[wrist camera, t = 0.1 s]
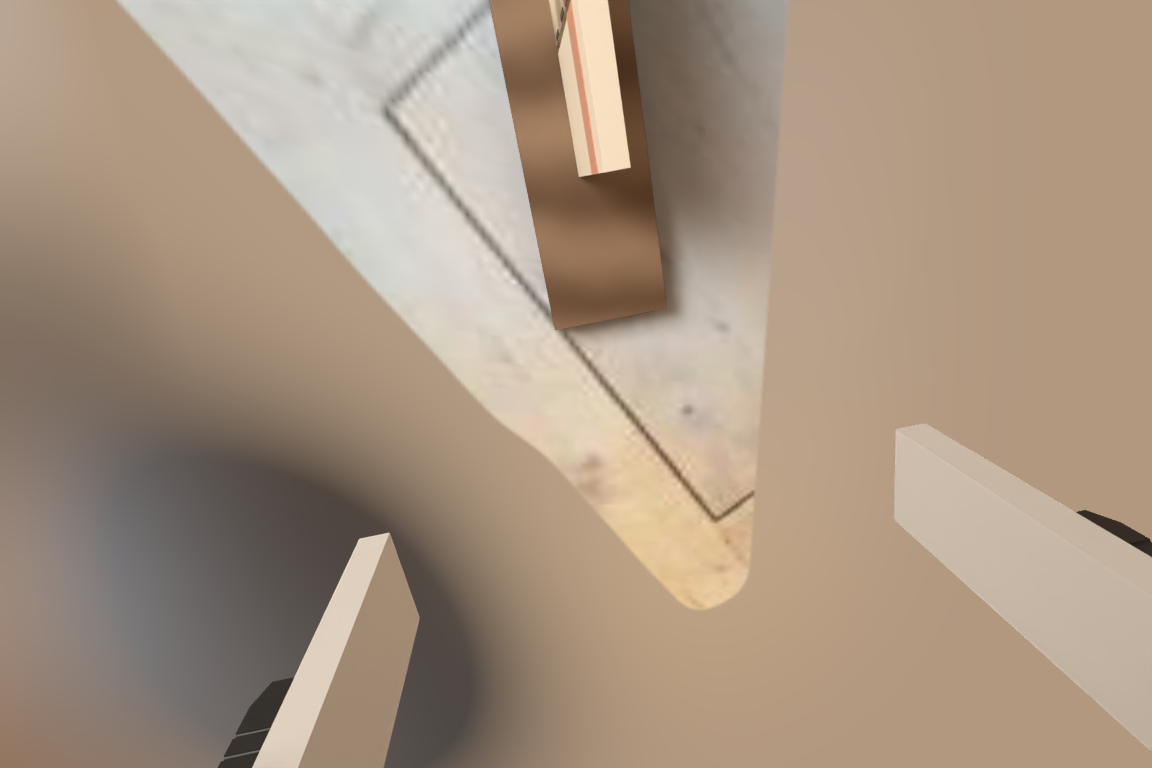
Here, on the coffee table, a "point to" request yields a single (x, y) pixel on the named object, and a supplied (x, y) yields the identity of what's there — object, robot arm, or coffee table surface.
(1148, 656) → the robot arm
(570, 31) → the stub
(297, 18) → the coffee table surface
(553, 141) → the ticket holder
